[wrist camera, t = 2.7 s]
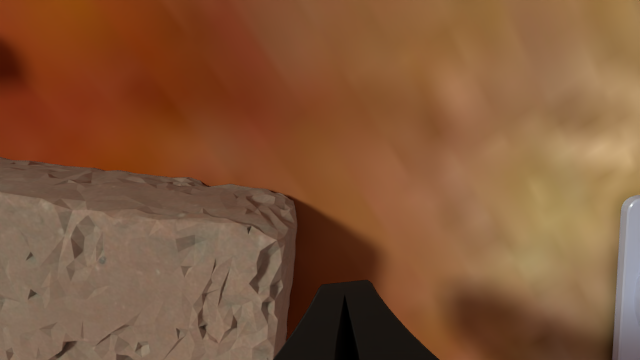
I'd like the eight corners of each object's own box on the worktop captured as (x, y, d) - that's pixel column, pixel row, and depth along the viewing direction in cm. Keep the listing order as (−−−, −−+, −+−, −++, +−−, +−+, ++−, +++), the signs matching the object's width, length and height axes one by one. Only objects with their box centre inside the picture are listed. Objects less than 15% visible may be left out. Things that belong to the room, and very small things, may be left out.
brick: (-70, 315, 17) (-217, 398, 12) (-96, 135, 15) (-284, 156, 10) (285, 361, 17) (267, 462, 12) (306, 188, 15) (294, 232, 10)
